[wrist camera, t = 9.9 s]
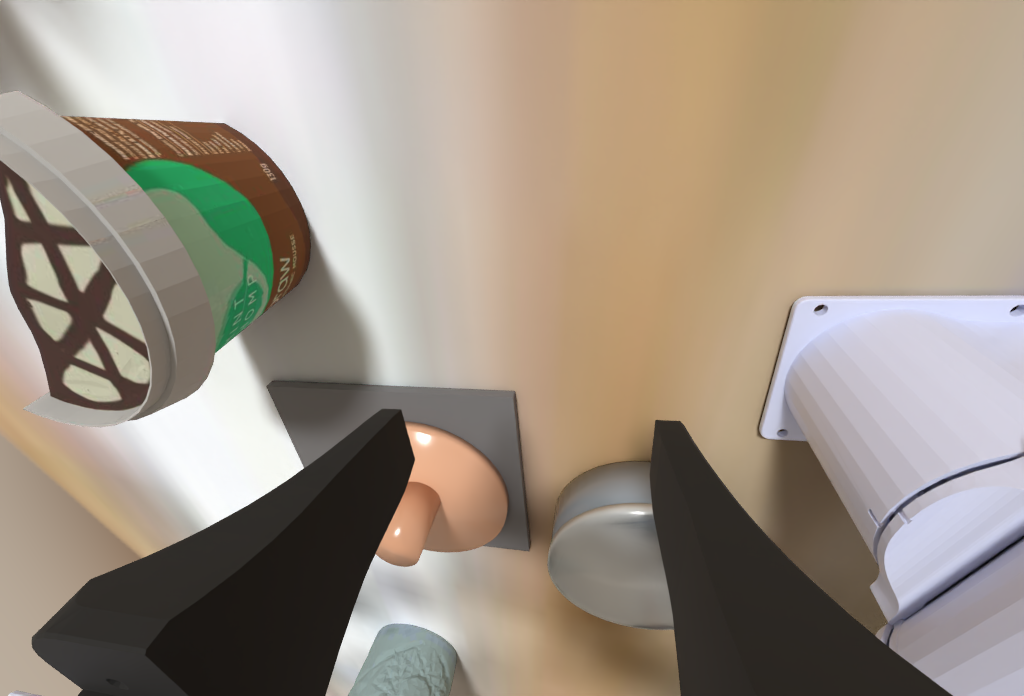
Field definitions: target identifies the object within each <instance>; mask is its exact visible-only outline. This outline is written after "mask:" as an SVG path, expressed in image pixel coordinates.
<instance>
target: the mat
mask: <svg viewBox="0 0 1024 696" xmlns="http://www.w3.org/2000/svg"><path fill="white" fill-rule="evenodd" d="M267 388H268V391H269V393H270V395H271V397H272V399H273V401H274V404H275V406H276V408H277V410H278V412H279V414H280V417H281V419H282V421H283V423H284V425H285V427H286V429H287V432H288V434H289V436H290V438H291V440H292V442H293V445H294V447H295V449H296V451H297V453H298V455H299V458H300V460H301V462H302V464H303V466H304V468H305V467H307V466H308V465H310V464H311V463H312V462H314V461H315V460H316V459H318V458H319V457H321V456H322V455H323V454H325V453H326V452H327V451H328V450H330V449H331V448H332V447H334V446H335V445H336V444H337V443H339V442H340V441H341V440H342V439H344V438H345V437H346V436H348V435H349V434H350V433H351V432H353V431H354V430H355V429H356V428H358V427H359V426H360V425H361V424H363V423H364V422H365V421H366V420H368V419H369V418H370V417H372V416H373V415H374V414H375V413H377V412H378V411H380V410H381V409H401V410H402V414H403V417H404V421H407V422H416V423H422V424H426V425H430V426H434V427H437V428H440V429H442V430H445V431H448V432H450V433H452V434H454V435H456V436H458V437H460V438H462V439H463V440H465V441H467V442H468V443H470V444H471V445H473V446H474V447H475V448H477V449H478V450H479V451H481V452H482V453H483V454H484V455H485V456H486V457H487V458H488V459H489V460H490V461H491V462H492V463H493V464H494V466H495V467H496V468H497V470H498V471H499V473H500V474H501V476H502V478H503V480H504V482H505V484H506V487H507V491H508V497H509V506H508V511H507V516H506V520H505V523H504V526H503V528H502V530H501V531H500V533H499V534H498V535H497V536H496V537H495V538H494V539H493V540H491V541H490V542H488V543H487V544H485V545H483V546H489V547H497V548H506V549H514V550H523V551H529V549H530V535H529V525H528V515H527V506H526V496H525V486H524V476H523V466H522V456H521V446H520V436H519V426H518V416H517V406H516V397H515V391H498V390H474V389H451V388H427V387H404V386H380V385H356V384H333V383H309V382H285V381H272V382H271V383H270V384H269V385H268V386H267Z"/></svg>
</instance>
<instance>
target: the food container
mask: <svg viewBox="0 0 1024 696" xmlns="http://www.w3.org/2000/svg"><path fill="white" fill-rule="evenodd" d="M0 200H1V205H2V209H3V214H4V218H5V238H6V260H7V272H8V281H9V287H10V292H11V294H12V296H13V298H14V300H15V303H16V305H17V307H18V309H19V311H20V313H21V314H22V316H23V318H24V320H25V321H26V323H27V325H28V327H29V328H30V330H31V332H32V334H33V336H34V339H35V341H36V343H37V345H38V348H39V350H40V354H41V357H42V361H43V364H44V368H45V371H46V375H47V380H48V385H49V390H50V392H48V393H47V394H45V395H44V396H42V397H41V398H39V399H37V400H36V401H34V402H33V403H31V404H29V405H28V406H26V407H25V408H23V409H24V410H26V411H28V412H31V413H34V414H36V415H39V416H41V417H44V418H47V419H51V420H54V421H57V422H61V423H65V424H70V425H76V426H82V427H106V426H113V425H117V424H120V423H123V422H125V421H130V420H137V419H140V418H142V417H145V416H148V415H150V414H153V413H155V412H157V411H159V410H161V409H163V408H165V407H167V406H170V405H172V404H174V403H176V402H178V401H180V400H182V399H185V398H187V397H188V396H189V395H191V394H192V393H194V392H195V391H196V390H198V389H199V388H200V386H201V385H202V384H203V383H204V381H205V380H206V379H207V377H208V375H209V372H210V370H211V367H212V365H213V362H214V355H215V353H216V352H217V351H218V350H219V349H221V348H222V347H223V346H224V345H226V344H227V343H228V342H229V341H230V340H232V339H233V338H234V337H235V336H236V335H238V334H239V333H240V332H241V331H242V330H244V329H245V328H246V327H247V326H248V325H250V324H251V323H252V322H253V321H254V320H256V319H257V318H258V317H259V316H261V315H262V314H263V313H264V312H265V311H267V310H268V309H269V308H270V307H271V306H273V305H274V304H275V303H276V302H277V301H279V300H280V299H281V298H282V297H283V296H285V295H286V294H287V293H288V292H290V291H291V290H292V289H293V288H294V287H296V286H297V285H298V284H299V282H300V281H301V279H302V277H303V275H304V274H305V272H306V270H307V267H308V263H309V260H310V250H311V243H310V232H309V228H308V223H307V219H306V216H305V213H304V211H303V208H302V205H301V203H300V201H299V199H298V197H297V195H296V193H295V191H294V189H293V187H292V186H291V184H290V183H289V181H288V180H287V178H286V177H285V175H284V174H283V172H282V171H281V170H280V169H279V168H278V166H277V165H276V164H275V163H274V162H273V161H272V159H271V158H270V157H269V156H268V155H267V154H266V153H265V152H264V151H263V150H262V149H260V148H259V147H258V146H257V145H256V144H255V143H254V142H252V141H251V140H250V139H248V138H247V137H246V136H244V135H243V134H242V133H240V132H238V131H237V130H235V129H233V128H232V127H230V126H228V125H226V124H225V123H205V122H183V121H160V120H138V119H116V118H93V117H71V116H59V115H58V114H56V113H55V112H54V111H52V110H51V109H49V108H48V107H46V106H44V105H43V104H41V103H39V102H37V101H36V100H34V99H32V98H30V97H29V96H27V95H25V94H23V93H22V92H20V91H18V90H17V91H12V92H7V93H2V94H0Z"/></svg>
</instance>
